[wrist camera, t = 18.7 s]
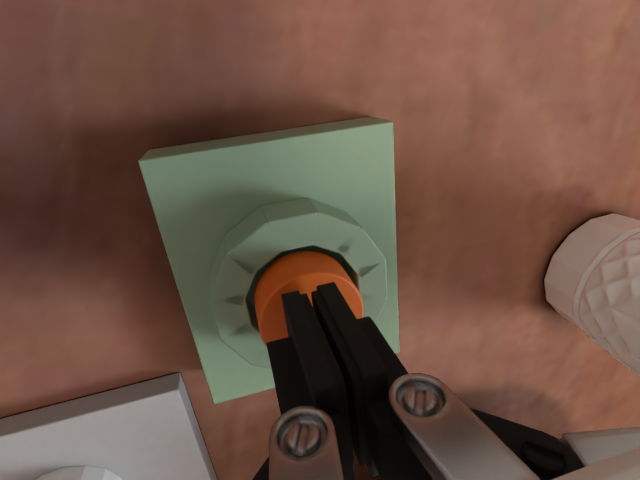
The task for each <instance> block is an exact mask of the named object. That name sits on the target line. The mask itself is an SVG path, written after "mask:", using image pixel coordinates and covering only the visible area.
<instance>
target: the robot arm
mask: <svg viewBox="0 0 640 480" xmlns="http://www.w3.org/2000/svg"><path fill="white" fill-rule="evenodd" d="M281 297H282V303H283V309H284V314H285V320H286V325H287V331H288V337H286V338H283V339H279V340H275V341H271V342H267V343H266V345H267V349H268V354H269V359H270V364H271V368H272V373H273V378H274V383H275V387H276V392H277V397H278V402H279V407H280V411H281V416H280V417H279V418H278V419H277V420H276V421H275V423H274V425H273V427H272V429H271V432H270V438H269V457H268V458H267V460H266V461H265V463H264V464H263V465H262V467H261V468H260V470H259V471H258V473H257V474H256V475H255V477H254V478H253V480H355V478H354V469H355V464H354V454H353V450H354V452H355V455H356V457H357V460H358V462H359V465H360V466H364V465H367V466H368V468H369V471H370V473H371V476H372V477H375V476H378V475H379V477H380V479H383V480H640V427H631V428H619V429H608V430H597V431H586V432H575V433H564V434H563V435H562V439H557V438H555V437H553V436H551V435H549V434H547V433H544V432H542V431H538V430H535V429H532V428H529V427H526V426H523V425H520V424H517V423H514V422H511V421H508V420H505V419H502V418H499V417H496V416H493V415H490V414H487V413H484V412H481V411H478V410H475V409H472V408H469V407H467V406H466V405H465V404H464V403H463V402H462V401H461V400H460V399H459V398H458V397H457V396H456V395H455V394H454V393H453V392H452V391H451V390H450V389H449V388H448V387H447V386H446V385H445V384H444V383H443V382H441V381H440V380H439V379H437V378H435V377H433V376H430V375H427V374H422V373H410V374H408V372H407V371H406V369H405V368H404V366H403V365H402V363H401V362H400V360H399V359H398V357H397V356H396V354H395V353H394V351H393V350H392V348H391V347H390V345H389V344H388V342H387V341H386V339H385V338H384V336H383V335H382V333H381V332H380V330H379V329H378V327H377V326H376V324H375V323H374V321H373V320H372V319H371V317H369V316H367V317H363V318H360V319H356V317H355V315H354V314H353V312H352V310H351V309H350V307H349V305H348V304H347V302H346V300H345V299H344V297H343V295H342V294H341V292H340V290H339V289H338V287H337V285H336V284H335V282H331V283H327V284H322V285H318V286H317V291H313V292H311V297H312V304H313V307H312V304H311V302H310V300H309V298H308V295H307V293H305V294H300V292H299V290H297V291H293V292H289V293H284V294H281Z"/></svg>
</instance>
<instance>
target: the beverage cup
mask: <svg viewBox="0 0 640 480" xmlns="http://www.w3.org/2000/svg"><path fill="white" fill-rule="evenodd" d="M36 480H122V478H121V477H120V476H118V475H116V474H114V473H112V472H110V471H109V470H107V469H103V468H97V467H91V466H75V467H64V468H60V469H58V470H55V471H52V472H49V473H47V474H44V475H42V476H40V477H39V478H38V479H36Z"/></svg>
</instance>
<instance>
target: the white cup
mask: <svg viewBox="0 0 640 480" xmlns="http://www.w3.org/2000/svg"><path fill="white" fill-rule="evenodd" d="M544 284H545V294H546V300H547V301H548V303H549V304H550V305H551V306H552V307H553V308H554V309H555V310H556V312H557V313H559V314H560V315H561V316H563V317H564V318H565V319H567V320H568V321H569V322H571V323H572V324H574V325H575V326H576V327H578V328H579V329H580V330H582V331H583V332H584V333H586V335H587V336H588V337H589V338H590V339H591V340H592V341H593V342H595V343H596V344H597V345H599V346H600V347H601V348H603V349H604V350H605V351H606V352H608V353H609V354H610V355H612V356H613V357H614V358H615V359H617V360H618V361H619V362H620V363H621V364H623V365H624V366H625V367H627V368H628V369H629V370H631V371H632V372H633V373H635V374H636V375H637V376H639V377H640V220H636V219H633V218H629V217H626V216H622V215H619V214H615V213H613V214H609V215H605V216H601V217H597V218H593V219H590V220H589V221H587V222H586V223H584V224H583V225H582V226H580V227H579V228H577V229H576V230H575V231H573V232H572V233H571V234H569V235H568V236H567V238H566V239H565V240H564V242H563V243H562V244H561V245H560V247H559V248H558V249H557V251H556V252H555V253H554V255H553V256H552V258H551V261H550V264H549V267H548V270H547V273H546V276H545V279H544Z"/></svg>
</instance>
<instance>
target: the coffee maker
mask: <svg viewBox="0 0 640 480" xmlns="http://www.w3.org/2000/svg"><path fill="white" fill-rule="evenodd" d="M75 466H91V467H97V468H103V469H107V470H109V471H110V472H112V473H114V474H116V475H118V476H120V477H121V478H122V480H217V477H216V474H215V471H214V468H213V466H212V463H211V460H210V457H209V454H208V451H207V448H206V446H205V443H204V440H203V437H202V434H201V431H200V428H199V425H198V423H197V420H196V417H195V414H194V411H193V408H192V405H191V402H190V400H189V397H188V394H187V391H186V388H185V385H184V382H183V380H182V377H181V374H180V373H176V374H172V375H168V376H164V377H160V378H156V379H153V380H149V381H145V382H141V383H137V384H133V385H129V386H126V387H122V388H118V389H114V390H110V391H106V392H102V393H98V394H95V395H91V396H87V397H83V398H79V399H75V400H71V401H68V402H64V403H60V404H56V405H52V406H48V407H44V408H40V409H37V410H33V411H29V412H25V413H21V414H17V415H13V416H10V417H6V418H2V419H0V480H36V479H38V478H39V477H40V476H42V475H44V474H47V473H49V472H52V471H55V470H58V469H60V468H64V467H75Z"/></svg>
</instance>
